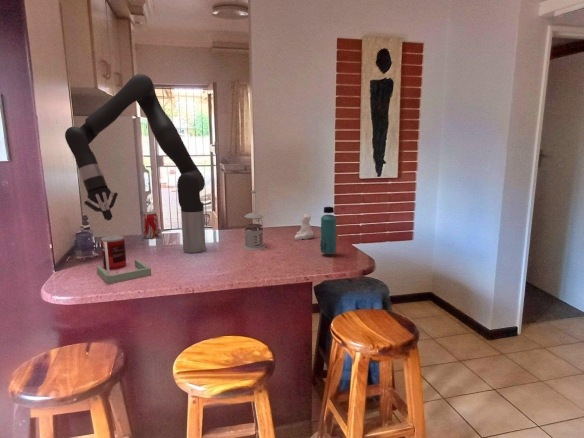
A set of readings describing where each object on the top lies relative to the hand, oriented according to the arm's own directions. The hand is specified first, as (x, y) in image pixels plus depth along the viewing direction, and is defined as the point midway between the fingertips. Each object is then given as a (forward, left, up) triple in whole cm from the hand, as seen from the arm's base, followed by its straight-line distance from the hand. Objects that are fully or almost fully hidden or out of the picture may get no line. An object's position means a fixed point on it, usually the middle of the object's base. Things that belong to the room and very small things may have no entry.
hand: (109, 219), depth 160 cm
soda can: (-11, -33, -16) cm, 38 cm away
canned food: (-2, +10, -16) cm, 19 cm away
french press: (-57, -5, -16) cm, 60 cm away
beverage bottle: (-84, +15, -16) cm, 87 cm away
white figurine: (-82, -15, -16) cm, 85 cm away
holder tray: (-7, +20, -16) cm, 26 cm away
